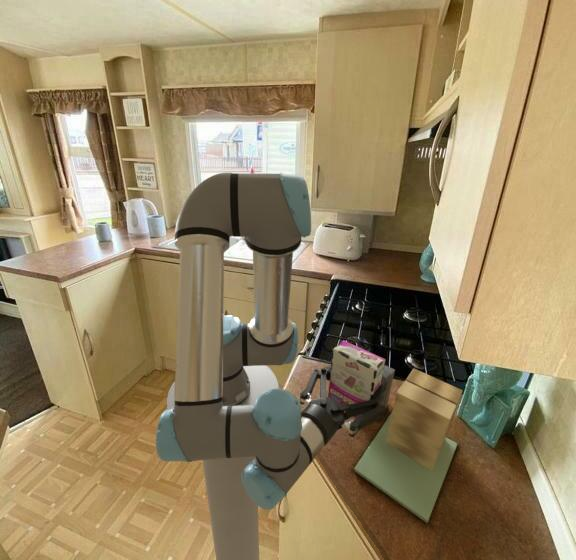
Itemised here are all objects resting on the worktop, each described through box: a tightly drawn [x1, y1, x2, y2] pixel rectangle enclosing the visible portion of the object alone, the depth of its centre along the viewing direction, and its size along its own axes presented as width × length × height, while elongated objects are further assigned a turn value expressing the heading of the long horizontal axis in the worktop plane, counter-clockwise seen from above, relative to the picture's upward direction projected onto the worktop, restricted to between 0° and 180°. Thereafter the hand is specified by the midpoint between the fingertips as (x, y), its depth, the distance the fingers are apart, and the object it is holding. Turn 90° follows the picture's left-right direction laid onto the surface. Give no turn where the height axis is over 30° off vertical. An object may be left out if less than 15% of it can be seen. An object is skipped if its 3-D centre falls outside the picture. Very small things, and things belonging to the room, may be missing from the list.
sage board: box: [353, 410, 458, 524], centre depth 73 cm, size 16×22×1 cm
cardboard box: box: [386, 368, 464, 471], centre depth 73 cm, size 11×10×16 cm
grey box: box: [381, 364, 396, 410], centre depth 84 cm, size 10×6×14 cm, turn 50°
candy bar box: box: [327, 340, 386, 419], centre depth 74 cm, size 11×5×16 cm, turn 50°
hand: (362, 373), depth 77 cm, fingers closed on candy bar box, 11 cm apart
